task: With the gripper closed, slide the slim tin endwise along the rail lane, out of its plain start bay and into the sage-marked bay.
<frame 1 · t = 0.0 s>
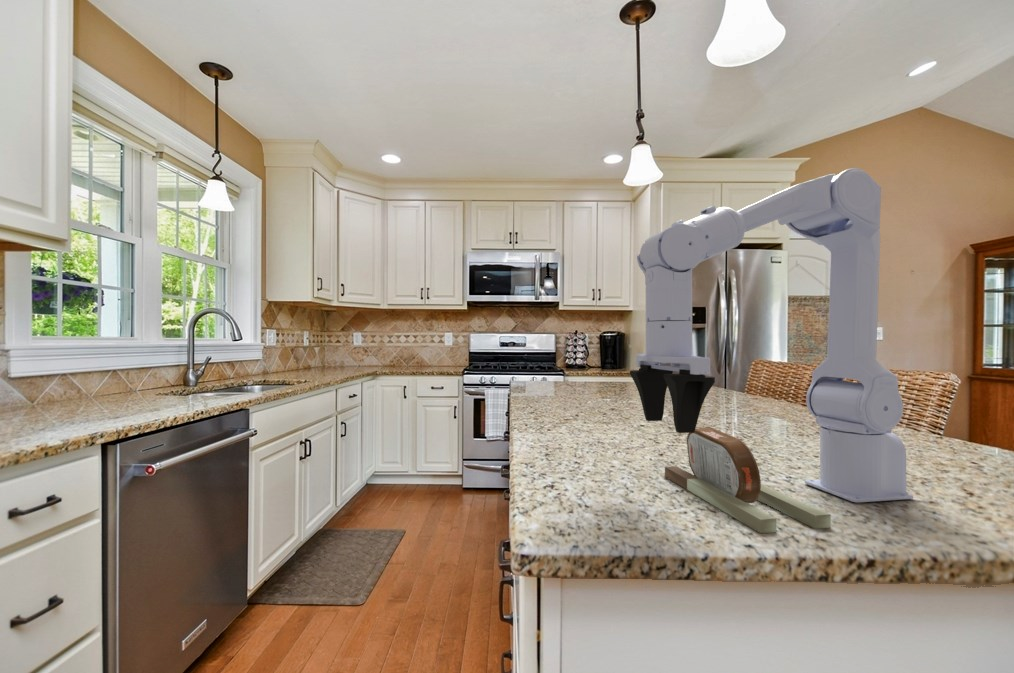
hand: (668, 426, 56), 10 cm above the counter, tool pointing down, fingers open, 7 cm apart
tin: (719, 493, 60), on the counter
rail: (734, 498, 58), on the counter
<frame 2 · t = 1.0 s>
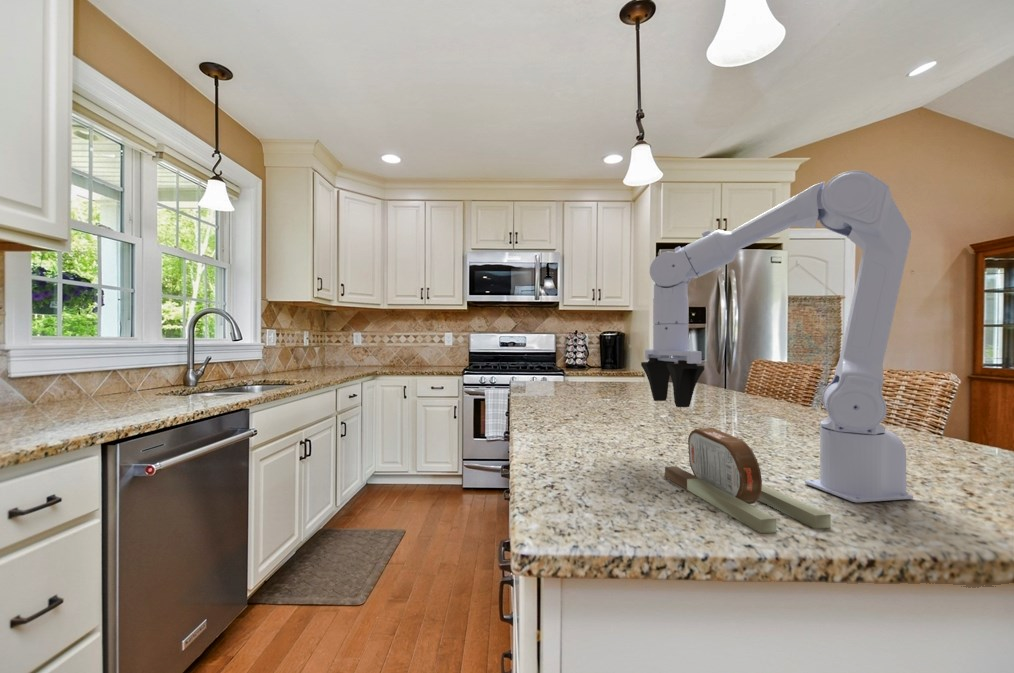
hand: (670, 403, 74), 10 cm above the counter, tool pointing down, fingers open, 7 cm apart
nothing on the counter moved.
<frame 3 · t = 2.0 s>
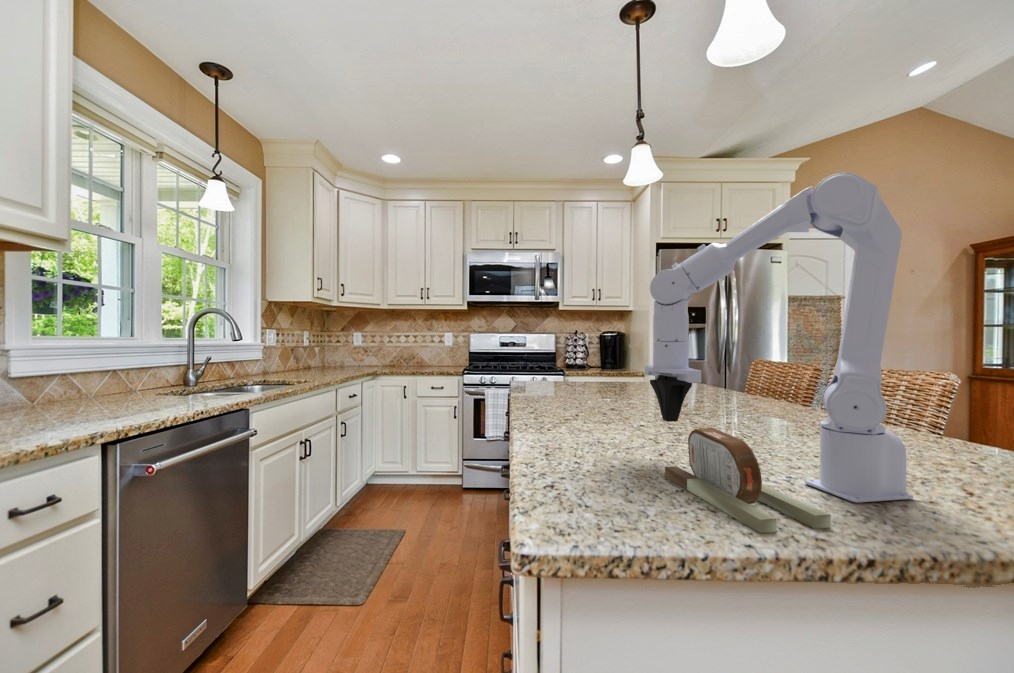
hand: (670, 420, 74), 7 cm above the counter, tool pointing down, fingers closed
nothing on the counter moved.
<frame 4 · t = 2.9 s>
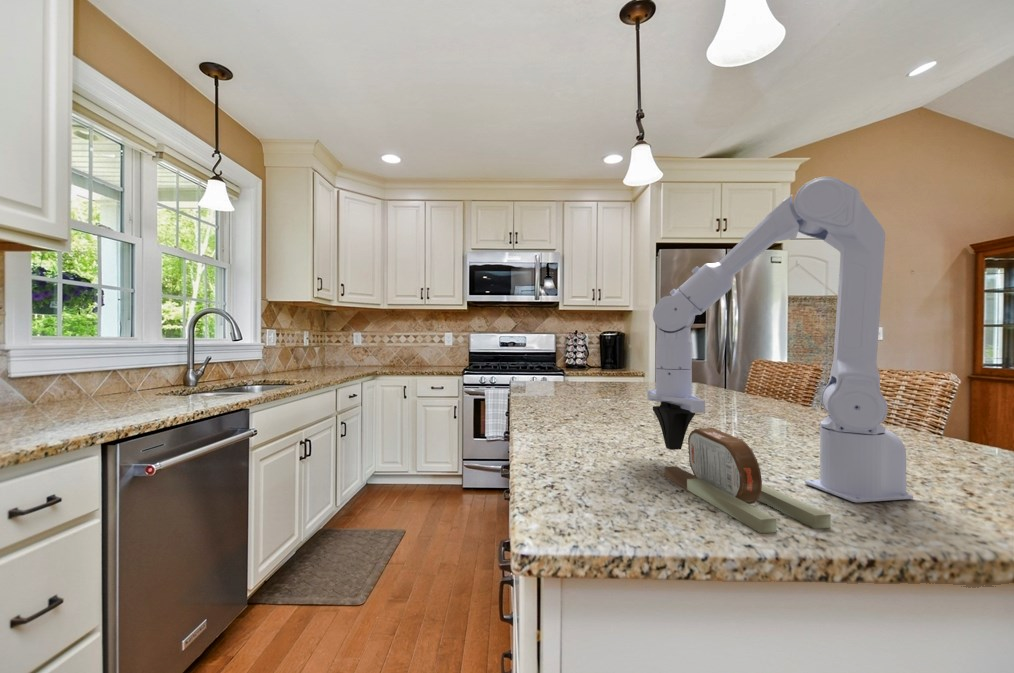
hand: (673, 448, 73), 3 cm above the counter, tool pointing down, fingers closed
nothing on the counter moved.
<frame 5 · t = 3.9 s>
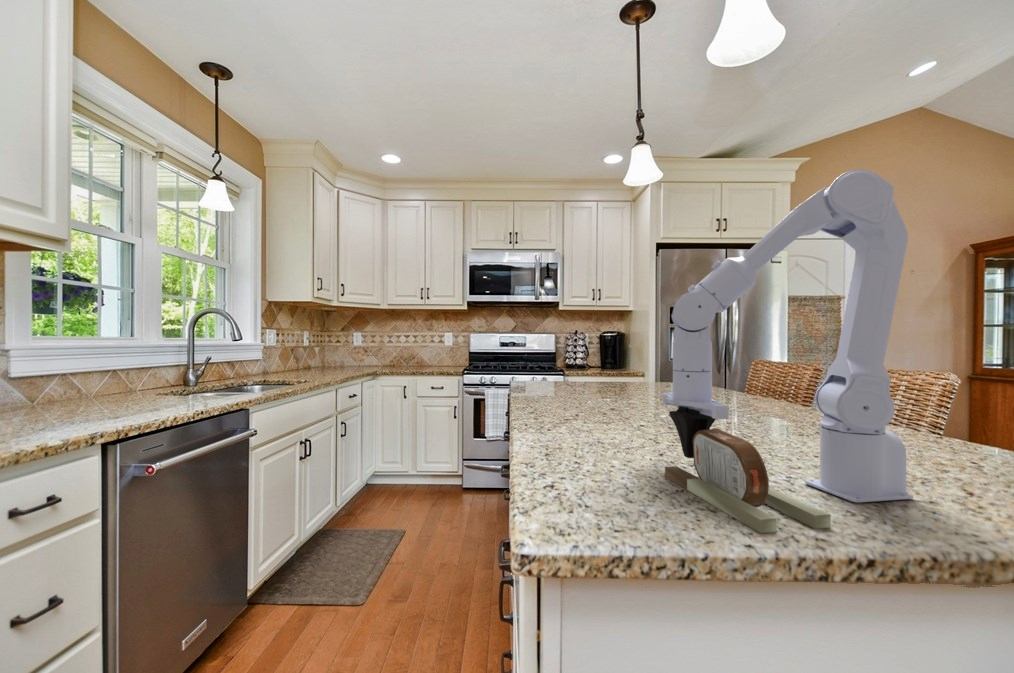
hand: (692, 457, 68), 3 cm above the counter, tool pointing down, fingers closed
tin: (724, 496, 59), on the counter, touching gripper
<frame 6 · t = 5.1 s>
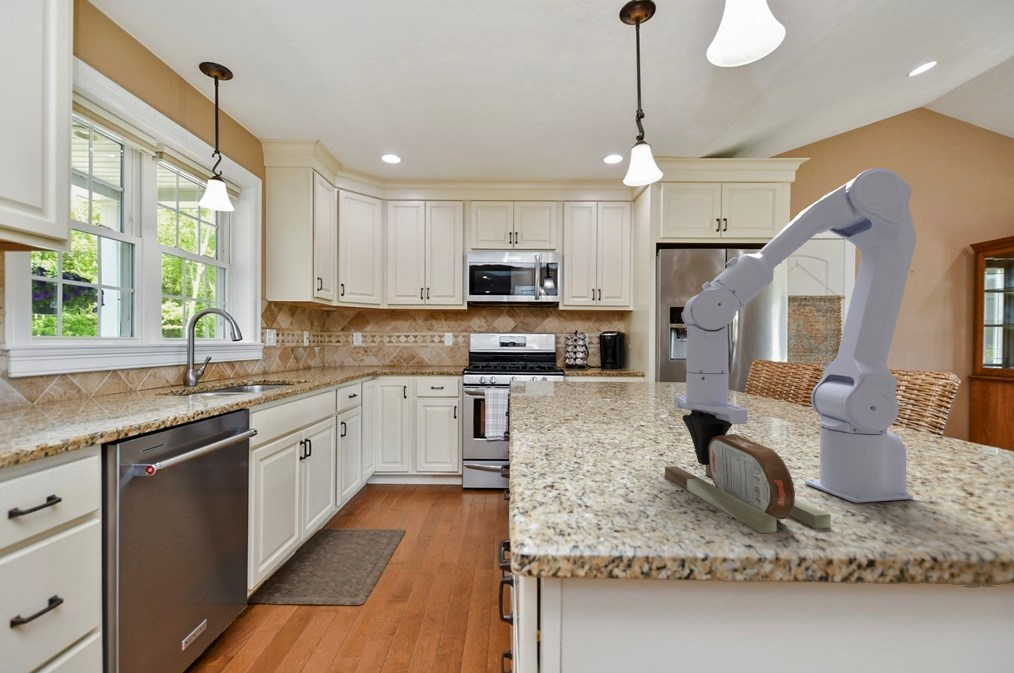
hand: (706, 463, 64), 3 cm above the counter, tool pointing down, fingers closed
tin: (744, 507, 55), on the counter, touching gripper
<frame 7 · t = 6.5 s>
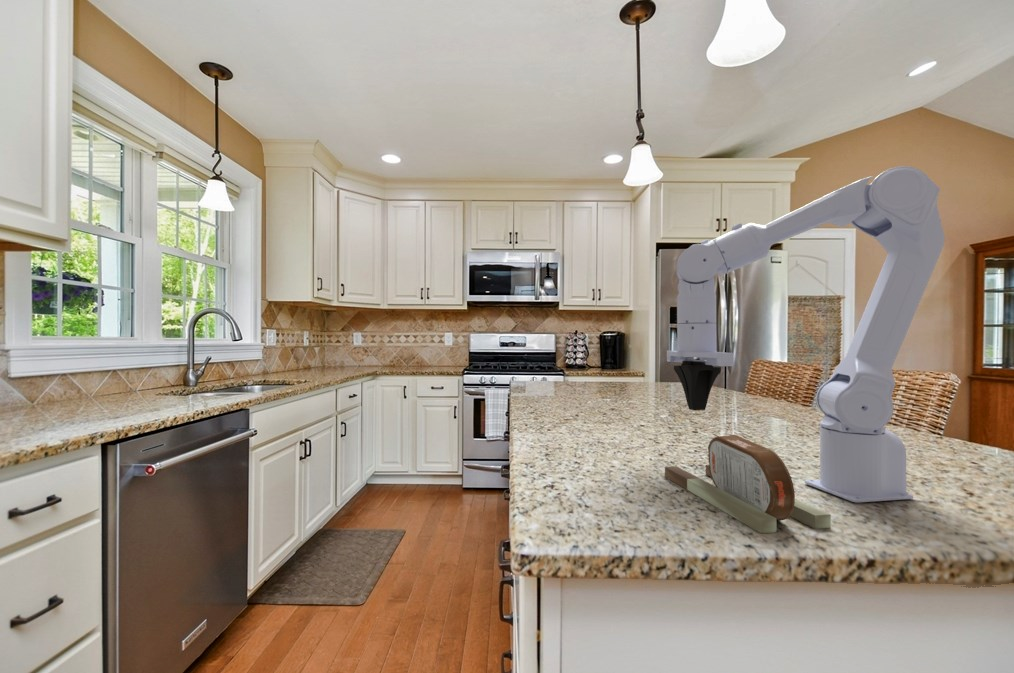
hand: (696, 409, 68), 10 cm above the counter, tool pointing down, fingers closed
tin: (744, 508, 55), on the counter
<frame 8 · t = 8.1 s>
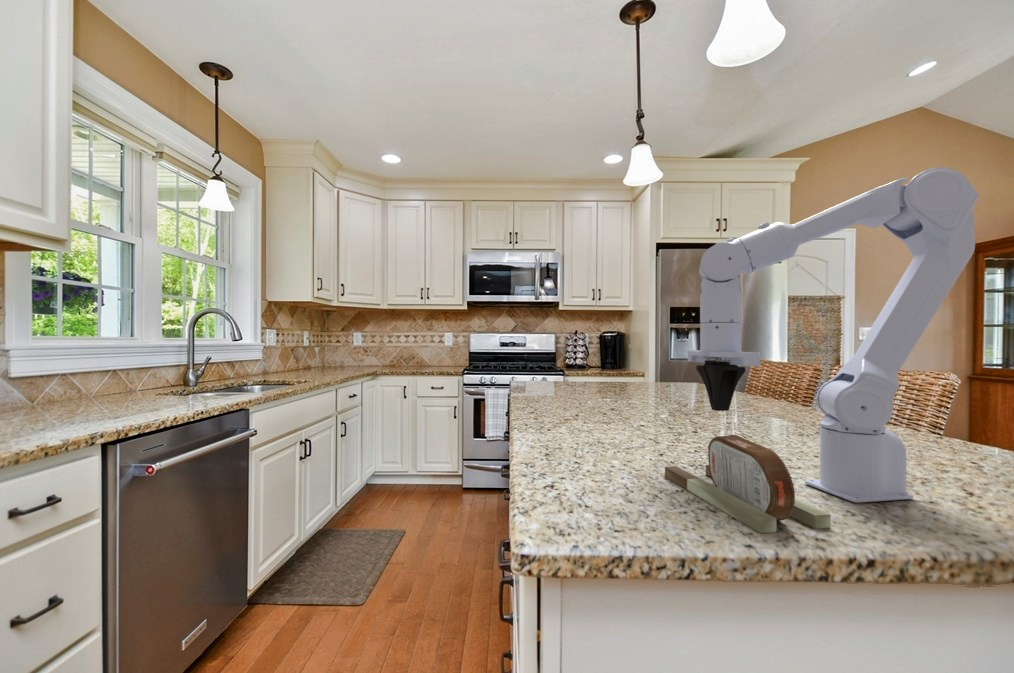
hand: (720, 410, 67), 10 cm above the counter, tool pointing down, fingers closed
nothing on the counter moved.
at the end: tin 1.0 cm from the target spot, on the counter; tin tilted 0°; the gripper is holding nothing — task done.
